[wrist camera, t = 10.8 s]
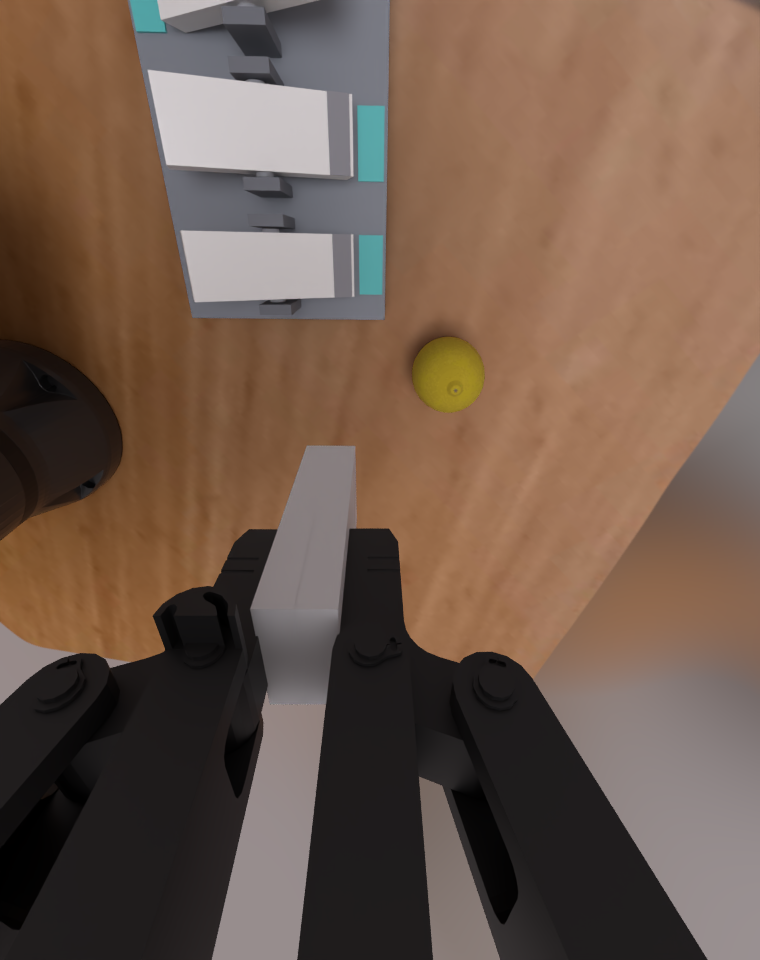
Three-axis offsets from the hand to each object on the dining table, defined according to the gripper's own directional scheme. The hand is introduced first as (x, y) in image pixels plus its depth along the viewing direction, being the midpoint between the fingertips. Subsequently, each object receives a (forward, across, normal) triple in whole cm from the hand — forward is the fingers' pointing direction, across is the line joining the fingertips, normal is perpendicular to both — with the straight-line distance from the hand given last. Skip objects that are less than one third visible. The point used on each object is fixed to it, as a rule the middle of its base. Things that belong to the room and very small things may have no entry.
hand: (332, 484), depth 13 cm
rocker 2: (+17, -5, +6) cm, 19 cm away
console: (+24, -5, +12) cm, 28 cm away
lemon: (+25, +7, -2) cm, 26 cm away
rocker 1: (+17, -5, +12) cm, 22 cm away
